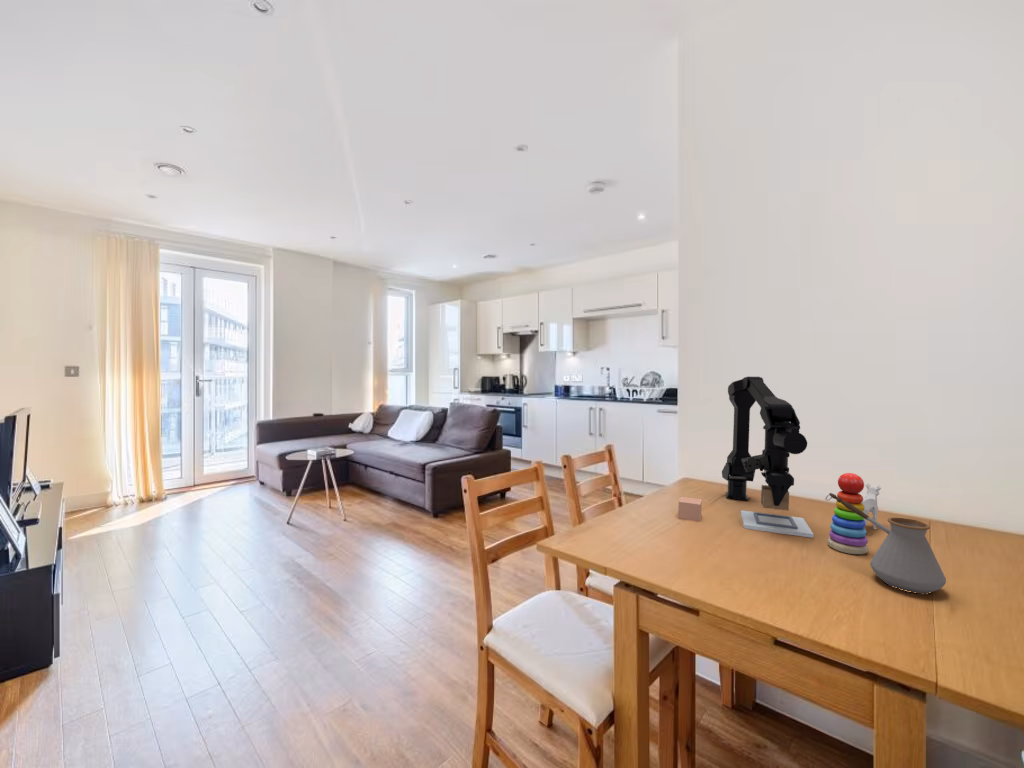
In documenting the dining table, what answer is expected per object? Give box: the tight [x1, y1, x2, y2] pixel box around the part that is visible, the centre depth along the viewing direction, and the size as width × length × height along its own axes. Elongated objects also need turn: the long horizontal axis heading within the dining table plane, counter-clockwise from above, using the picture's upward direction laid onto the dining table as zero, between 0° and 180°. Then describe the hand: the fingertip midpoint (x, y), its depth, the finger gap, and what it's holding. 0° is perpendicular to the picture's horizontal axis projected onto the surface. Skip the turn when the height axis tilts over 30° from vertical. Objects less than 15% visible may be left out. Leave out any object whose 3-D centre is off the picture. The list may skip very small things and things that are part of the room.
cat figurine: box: [861, 482, 882, 531], centre depth 120 cm, size 4×20×14 cm, turn 124°
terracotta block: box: [677, 496, 703, 522], centre depth 130 cm, size 6×6×5 cm
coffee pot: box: [825, 492, 947, 593], centre depth 93 cm, size 21×12×15 cm, turn 23°
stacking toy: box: [827, 472, 869, 555], centre depth 107 cm, size 8×8×19 cm
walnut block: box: [760, 484, 790, 512], centre depth 124 cm, size 6×6×5 cm
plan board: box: [740, 510, 815, 539], centre depth 124 cm, size 14×16×2 cm
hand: (774, 502), depth 124 cm, fingers closed on walnut block, 6 cm apart
